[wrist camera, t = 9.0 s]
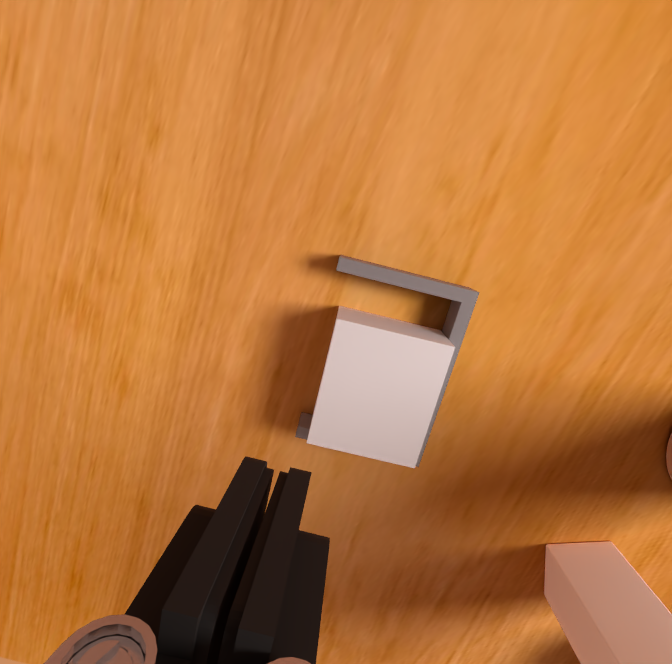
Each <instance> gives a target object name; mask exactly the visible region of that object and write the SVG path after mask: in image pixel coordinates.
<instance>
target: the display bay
mask: <svg viewBox="0 0 672 664" xmlns="http://www.w3.org/2000/svg"><path fill="white" fill-rule="evenodd" d="M336 271H340V272H344V273H348V274H352V275H356V276H360V277H364V278H368V279H372V280H376V281H380V282H384V283H388V284H392V285H395V286H399V287H403V288H407V289H411V290H415V291H419V292H423V293H427V294H431V295H435V296H439V297H443V298H447V299H451V300H452V301H451V304H450V308H449V311H448V314H447V317H446V320H445V323H444V326H443V329H442V333H443V334H444V335H445V336H446V337H447V338H448V339H449V341H450V342H451V343H452V344H453V345H454V346H455V349H454V352H453V355H452V358H451V361H450V364H449V367H448V370H447V373H446V376H445V379H444V382H443V385H442V388H441V391H440V394H439V397H438V400H437V403H436V406H435V409H434V412H433V415H432V418H431V421H430V424H429V427H428V430H427V433H426V436H425V439H424V442H423V445H422V448H421V451H420V454H419V457H418V460H417V463H416V466H417V467H419V464H420V461H421V458H422V455H423V453H424V450H425V447H426V444H427V441H428V438H429V435H430V432H431V430H432V427H433V424H434V421H435V418H436V415H437V412H438V410H439V407H440V404H441V401H442V398H443V395H444V392H445V389H446V387H447V384H448V381H449V378H450V375H451V372H452V369H453V367H454V364H455V361H456V358H457V355H458V352H459V349H460V347H461V344H462V341H463V338H464V335H465V332H466V329H467V326H468V324H469V321H470V318H471V315H472V312H473V309H474V306H475V304H476V301H477V298H478V295H479V292H477V291H475V290H473V289H471V288H469V287H465V286H461V285H457V284H453V283H449V282H445V281H441V280H437V279H433V278H429V277H426V276H422V275H418V274H414V273H410V272H406V271H402V270H398V269H394V268H390V267H386V266H382V265H379V264H375V263H371V262H367V261H363V260H359V259H355V258H351V257H347V256H343V255H340V257H339V261H338V265H337V269H336ZM312 416H313V415H311V414H307V413H303V412H302V413H301V417H300V420H299V424H298V428H297V432H296V436H295V437H298V438H302V439H306V440H307V439H308V434H309V430H310V425H311V420H312Z"/></svg>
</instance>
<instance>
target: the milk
mask: <svg viewBox="0 0 672 664" xmlns="http://www.w3.org/2000/svg"><path fill="white" fill-rule="evenodd" d="M544 595H545V597H546V599H547V601H548V603H549V605H550V607H551V608H552V610H553V612H554V614H555V616H556V618H557V620H558V622H559V624H560V626H561V628H562V629H563V631H564V633H565V635H566V637H567V639H568V641H569V643H570V645H571V647H572V648H573V650H574V652H575V654H576V656H577V658H578V660H579V662H580V664H672V614H671V613H670V611H669V610H668V609H667V608H666V607H665V605H664V604H663V603H662V602H661V601H660V599H659V598H658V597H657V596H656V595H655V593H654V592H653V591H652V590H651V589H650V587H649V586H648V585H647V584H646V583H645V581H644V580H643V579H642V578H641V577H640V575H639V574H638V573H637V572H636V571H635V569H634V568H633V567H632V566H631V565H630V563H629V562H628V561H627V560H626V559H625V557H624V556H623V555H622V554H621V552H620V551H619V550H618V549H617V548H616V546H615V545H614V544H613V543H612V542H611V541H603V542H583V543H563V544H547V545H546V557H545V581H544Z"/></svg>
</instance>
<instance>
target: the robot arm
mask: <svg viewBox="0 0 672 664" xmlns="http://www.w3.org/2000/svg"><path fill="white" fill-rule="evenodd" d="M666 461H667V469H668V471H669V474H670V477H671V479H672V433H671V436H670V438H669V441H668V445H667V452H666ZM273 472H274V470H273V469H269V468H267V461H262V460H258V459H254V458H250V457H245V458H244V459H243V461H242V463H241V465H240V467H239V469H238V470H237V472H236V474H235V476H234V478H233V480H232V481H231V483H230V485H229V487H228V489H227V491H226V493H225V494H224V496H223V498H222V500H221V502H220V504H219V505H218V507H217V509H216V510H215V509H211V508H207V507H203V506H199V505H195V506H194V507H193V508H192V509H191V511H190V512H189V514H188V515H187V517H186V518H185V520H184V521H183V523H182V525H181V526H180V528H179V529H178V531H177V532H176V534H175V536H174V537H173V539H172V540H171V542H170V544H169V545H168V547H167V548H166V550H165V551H164V553H163V555H162V556H161V558H160V559H159V561H158V562H157V564H156V566H155V567H154V569H153V570H152V572H151V573H150V575H149V577H148V578H147V580H146V581H145V583H144V585H143V586H142V588H141V589H140V591H139V592H138V594H137V596H136V597H135V599H134V600H133V602H132V603H131V605H130V607H129V608H128V610H127V611H126V613H125V615H111V616H107V617H104V618H101V619H98V620H94V621H92V622H90V623H89V624H87V625H85V626H84V627H82V628H80V629H78V630H77V631H76V632H75V633H73V634H72V635H71V636H70V637H69V638H68V639H67V640H66V641H65V642H63V643H62V644H61V645H60V647H59V648H58V649H57V650H56V651H55V652H54V653H53V654H52V655H51V656H50V658H49V659H48V660H47V661H46V662H45V663H44V664H316V656H317V647H318V639H319V630H320V621H321V613H322V604H323V595H324V587H325V578H326V569H327V561H328V552H329V543H330V538H328V537H324V536H320V535H316V534H312V533H308V532H304V531H300V530H299V525H300V521H301V517H302V512H303V508H304V503H305V499H306V494H307V490H308V486H309V481H310V477H311V472H307V471H303V470H299V469H295V468H291V467H290V470H289V473H285V472H281V471H280V473H279V476H278V479H277V482H276V484H275V487H274V490H273V493H272V496H271V498H270V501H269V504H268V507H267V509H266V506H267V501H268V496H269V492H270V487H271V482H272V477H273ZM265 510H266V512H265Z"/></svg>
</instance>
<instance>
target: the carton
mask: <svg viewBox="0 0 672 664" xmlns="http://www.w3.org/2000/svg"><path fill="white" fill-rule="evenodd" d="M454 349H455V346H454V345H453V344H452V343H451V342H450V341H449V339H448V338H447V337H446V336H445V335H444V334H443V333H442V331H441V330H438V329H434V328H430V327H426V326H421V325H417V324H413V323H409V322H405V321H401V320H397V319H392V318H388V317H384V316H380V315H376V314H372V313H368V312H363V311H359V310H355V309H351V308H347V307H343V306H339V309H338V313H337V317H336V321H335V325H334V329H333V333H332V337H331V341H330V346H329V350H328V354H327V358H326V362H325V366H324V370H323V374H322V378H321V383H320V387H319V391H318V395H317V399H316V403H315V407H314V411H313V416H312V420H311V425H310V430H309V434H308V439H307V443H308V444H312V445H317V446H321V447H325V448H330V449H334V450H338V451H342V452H347V453H351V454H355V455H360V456H364V457H368V458H372V459H377V460H381V461H385V462H390V463H394V464H398V465H402V466H407V467H411V468H415V466H416V463H417V460H418V457H419V454H420V451H421V448H422V445H423V442H424V439H425V436H426V433H427V430H428V427H429V424H430V421H431V418H432V415H433V412H434V409H435V406H436V403H437V400H438V397H439V394H440V391H441V388H442V385H443V382H444V379H445V376H446V373H447V370H448V367H449V364H450V361H451V358H452V355H453V352H454Z"/></svg>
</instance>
